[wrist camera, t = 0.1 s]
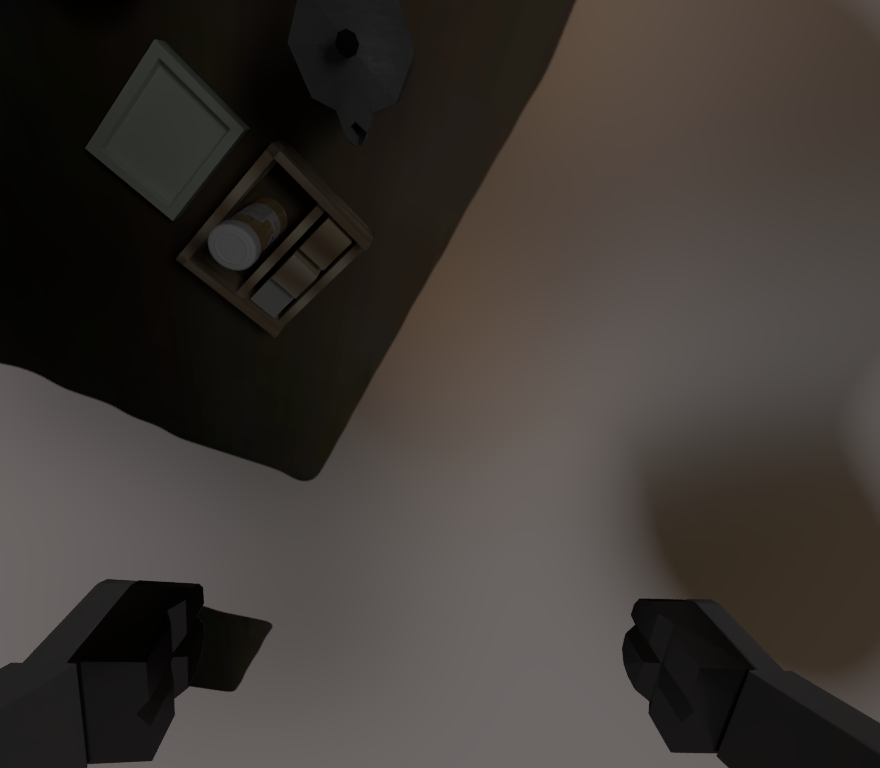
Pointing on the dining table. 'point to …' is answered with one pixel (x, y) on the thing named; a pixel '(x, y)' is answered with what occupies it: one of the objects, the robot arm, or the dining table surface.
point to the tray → (166, 132)
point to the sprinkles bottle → (247, 234)
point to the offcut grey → (272, 297)
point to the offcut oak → (326, 243)
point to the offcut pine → (296, 273)
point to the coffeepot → (352, 57)
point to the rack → (241, 290)
